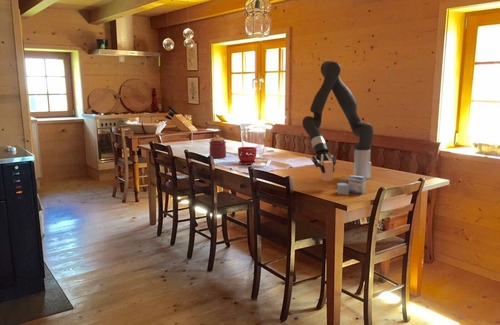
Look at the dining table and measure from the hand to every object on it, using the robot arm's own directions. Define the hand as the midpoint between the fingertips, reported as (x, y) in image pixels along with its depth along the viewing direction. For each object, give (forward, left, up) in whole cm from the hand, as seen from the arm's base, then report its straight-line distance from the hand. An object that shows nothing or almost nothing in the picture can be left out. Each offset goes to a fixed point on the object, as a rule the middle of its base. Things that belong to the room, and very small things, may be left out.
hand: (328, 172), depth 226 cm
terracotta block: (0, -2, -5) cm, 5 cm away
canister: (+37, -121, -10) cm, 127 cm away
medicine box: (-13, +7, -10) cm, 18 cm away
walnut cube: (-13, -5, -10) cm, 17 cm away
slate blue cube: (-5, +7, -10) cm, 13 cm away
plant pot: (+22, -87, -10) cm, 90 cm away
